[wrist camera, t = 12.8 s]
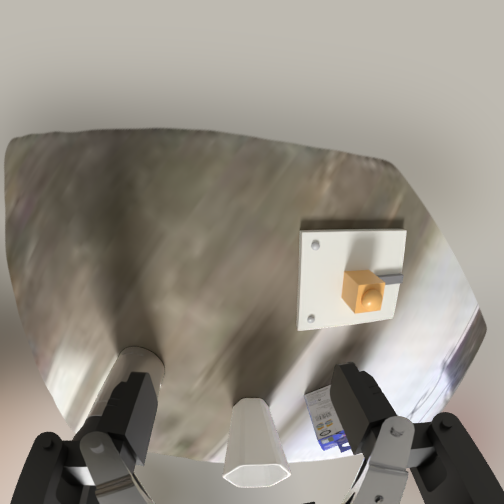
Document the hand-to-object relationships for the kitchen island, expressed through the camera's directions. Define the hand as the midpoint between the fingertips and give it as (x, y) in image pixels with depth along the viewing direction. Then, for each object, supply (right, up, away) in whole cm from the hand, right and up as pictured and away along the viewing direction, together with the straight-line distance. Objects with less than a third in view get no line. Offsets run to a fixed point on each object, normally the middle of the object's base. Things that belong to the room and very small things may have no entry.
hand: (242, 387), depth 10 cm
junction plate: (+16, +2, +31) cm, 35 cm away
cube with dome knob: (+17, +1, +30) cm, 34 cm away
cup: (0, -26, +38) cm, 46 cm away
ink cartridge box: (+16, -23, +39) cm, 48 cm away
